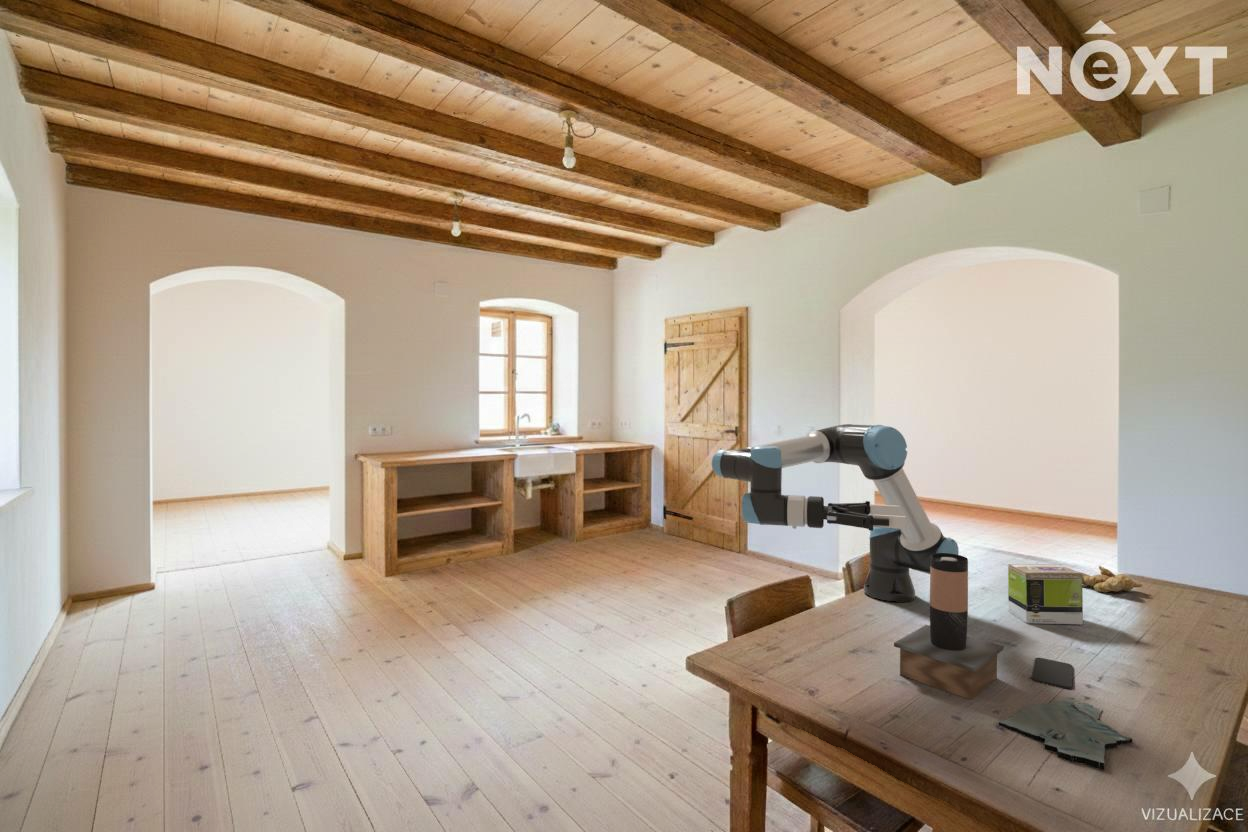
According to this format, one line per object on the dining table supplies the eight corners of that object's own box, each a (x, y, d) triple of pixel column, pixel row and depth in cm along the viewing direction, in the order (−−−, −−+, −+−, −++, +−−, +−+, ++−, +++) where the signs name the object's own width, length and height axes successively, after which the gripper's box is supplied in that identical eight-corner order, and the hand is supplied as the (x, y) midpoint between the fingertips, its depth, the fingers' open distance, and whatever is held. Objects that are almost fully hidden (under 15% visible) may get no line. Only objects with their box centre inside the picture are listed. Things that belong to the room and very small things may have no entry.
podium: (893, 674, 138) (893, 642, 138) (925, 654, 149) (926, 624, 149) (974, 703, 125) (974, 667, 125) (1003, 678, 136) (1003, 645, 136)
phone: (1073, 664, 142) (1073, 688, 130) (1073, 667, 143) (1072, 691, 130) (1035, 656, 147) (1031, 678, 135) (1035, 659, 147) (1031, 682, 135)
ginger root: (1156, 594, 190) (1149, 569, 190) (1106, 606, 190) (1100, 581, 191) (1116, 581, 206) (1110, 558, 206) (1071, 592, 206) (1065, 569, 206)
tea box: (1061, 613, 177) (1061, 563, 177) (1083, 626, 167) (1084, 573, 167) (1006, 611, 179) (1007, 562, 178) (1026, 624, 169) (1026, 572, 168)
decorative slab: (965, 696, 129) (965, 687, 129) (1082, 699, 128) (1082, 690, 128) (1044, 772, 103) (1044, 760, 103) (1192, 776, 102) (1192, 764, 102)
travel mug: (965, 640, 139) (966, 554, 138) (969, 653, 132) (970, 563, 131) (928, 635, 142) (929, 551, 142) (929, 647, 135) (930, 559, 135)
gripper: (808, 517, 159) (897, 522, 151) (803, 538, 135) (907, 545, 128) (809, 488, 158) (897, 492, 151) (804, 504, 135) (908, 510, 128)
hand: (902, 516), depth 140 cm, fingers open, 13 cm apart
